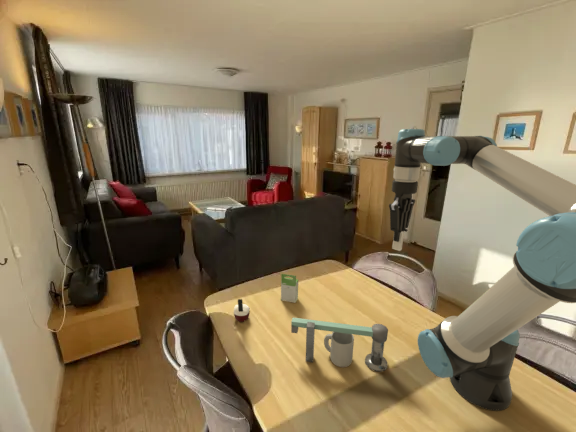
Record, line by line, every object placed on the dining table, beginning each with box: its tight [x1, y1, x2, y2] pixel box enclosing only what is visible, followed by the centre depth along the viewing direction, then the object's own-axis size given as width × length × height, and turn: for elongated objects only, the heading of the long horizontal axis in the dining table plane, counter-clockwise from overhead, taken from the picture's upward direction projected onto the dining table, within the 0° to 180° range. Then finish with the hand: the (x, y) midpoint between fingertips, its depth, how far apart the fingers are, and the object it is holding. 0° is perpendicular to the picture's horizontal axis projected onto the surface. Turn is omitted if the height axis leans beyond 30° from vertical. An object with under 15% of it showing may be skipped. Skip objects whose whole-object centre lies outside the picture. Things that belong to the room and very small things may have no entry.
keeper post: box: [305, 322, 316, 363], centre depth 92 cm, size 2×2×14 cm
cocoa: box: [233, 298, 251, 323], centre depth 112 cm, size 10×6×12 cm, turn 164°
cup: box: [323, 331, 355, 368], centre depth 93 cm, size 7×10×9 cm
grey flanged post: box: [364, 339, 388, 373], centre depth 91 cm, size 7×7×10 cm
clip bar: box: [290, 317, 389, 343], centre depth 91 cm, size 30×5×5 cm, turn 79°
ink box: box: [280, 273, 299, 304], centre depth 125 cm, size 7×4×13 cm, turn 72°
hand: (396, 249), depth 96 cm, fingers closed
